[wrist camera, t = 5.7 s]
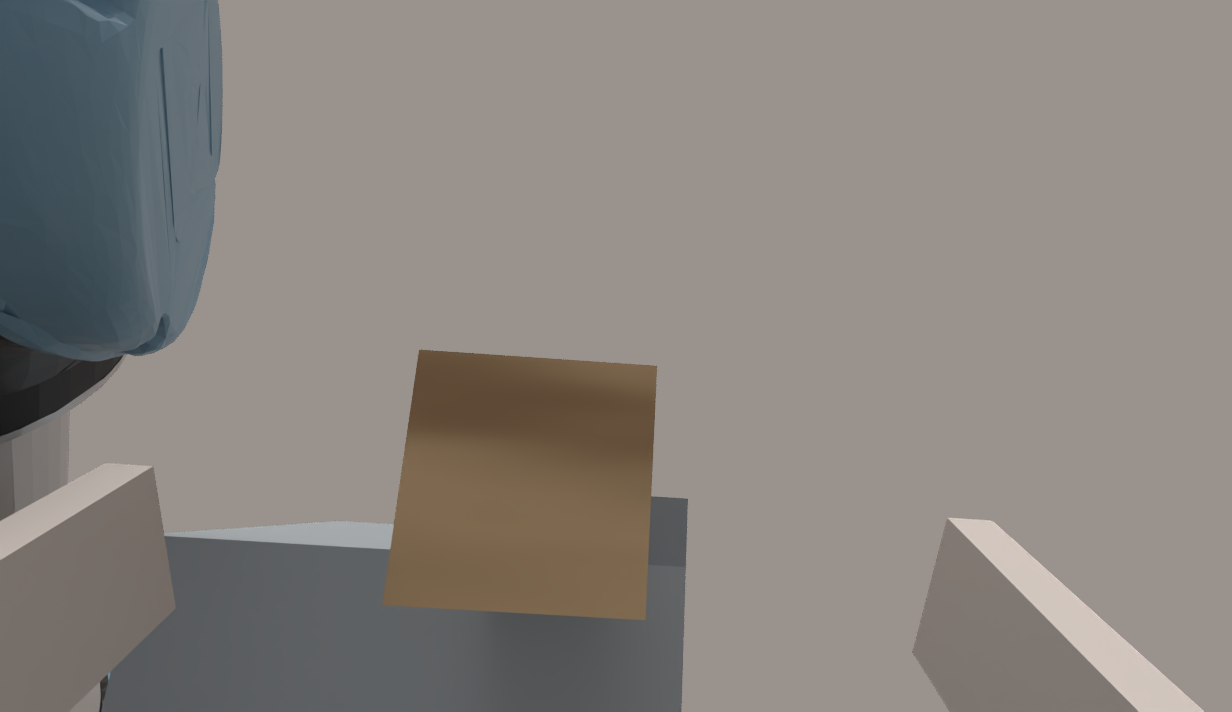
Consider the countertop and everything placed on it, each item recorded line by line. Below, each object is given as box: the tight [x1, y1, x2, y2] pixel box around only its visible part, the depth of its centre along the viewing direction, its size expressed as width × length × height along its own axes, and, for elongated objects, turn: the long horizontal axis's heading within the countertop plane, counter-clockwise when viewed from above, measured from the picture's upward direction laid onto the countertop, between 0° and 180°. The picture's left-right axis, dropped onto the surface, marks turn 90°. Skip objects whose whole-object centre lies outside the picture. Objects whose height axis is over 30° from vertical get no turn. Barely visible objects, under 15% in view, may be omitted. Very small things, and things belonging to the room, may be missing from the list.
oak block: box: [382, 350, 657, 620], centre depth 21 cm, size 23×4×4 cm, turn 2°
